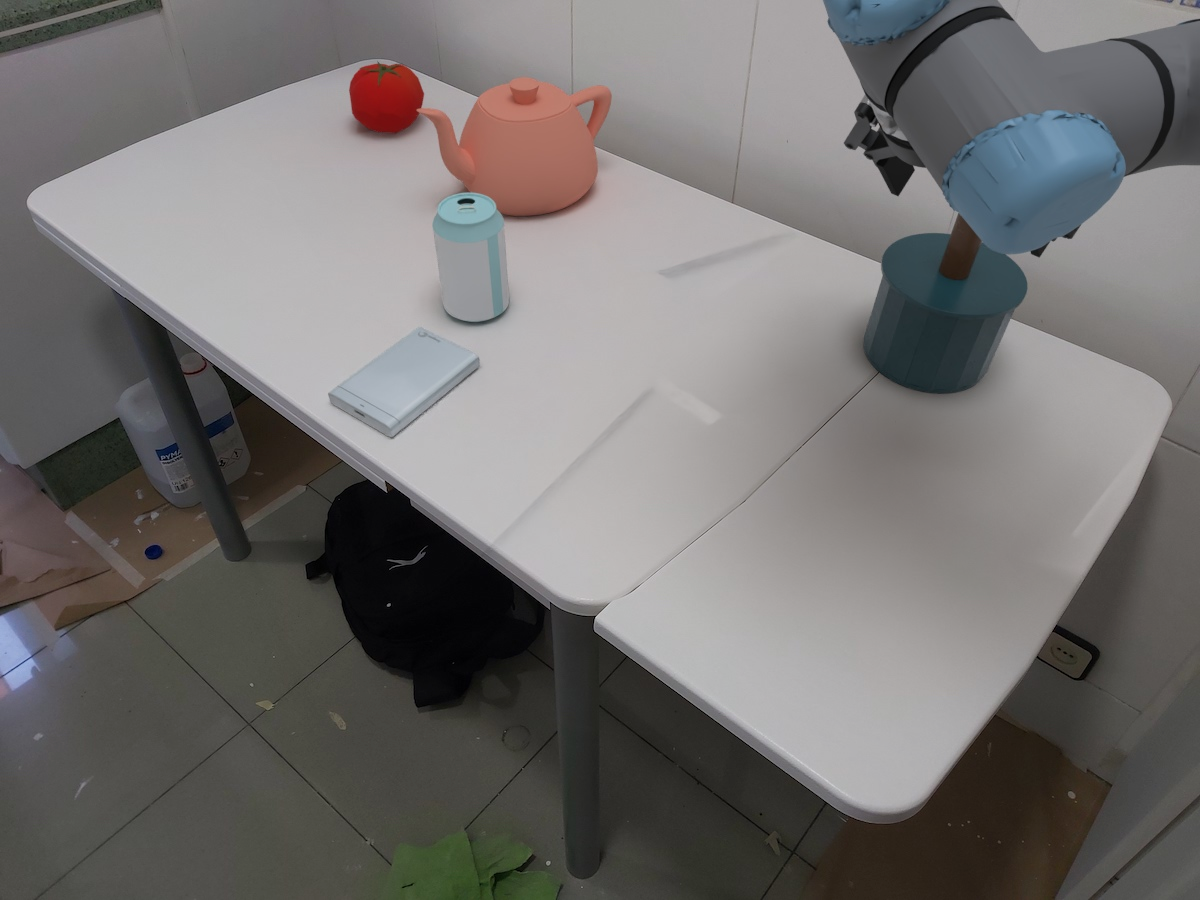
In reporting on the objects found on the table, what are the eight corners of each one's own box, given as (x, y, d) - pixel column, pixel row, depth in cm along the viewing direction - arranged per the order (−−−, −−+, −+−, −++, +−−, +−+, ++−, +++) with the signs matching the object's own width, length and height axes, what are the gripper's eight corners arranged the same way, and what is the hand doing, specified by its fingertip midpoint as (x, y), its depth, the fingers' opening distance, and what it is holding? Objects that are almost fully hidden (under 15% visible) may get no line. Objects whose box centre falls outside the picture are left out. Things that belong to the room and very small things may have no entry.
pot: (1008, 353, 91) (1043, 276, 84) (948, 411, 85) (980, 334, 78) (903, 301, 97) (928, 225, 90) (839, 352, 91) (861, 274, 84)
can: (430, 306, 95) (415, 206, 86) (480, 278, 98) (470, 180, 90) (473, 335, 91) (462, 235, 83) (523, 306, 95) (517, 207, 86)
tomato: (340, 128, 122) (328, 67, 116) (397, 103, 128) (388, 44, 122) (385, 150, 118) (374, 88, 112) (441, 123, 124) (434, 63, 118)
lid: (1048, 282, 85) (1087, 197, 78) (980, 344, 78) (1017, 256, 71) (924, 227, 91) (951, 144, 84) (852, 280, 84) (875, 194, 78)
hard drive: (418, 324, 90) (326, 390, 83) (479, 355, 87) (389, 426, 80) (420, 337, 91) (330, 403, 84) (480, 368, 88) (392, 439, 81)
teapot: (456, 246, 103) (443, 137, 93) (405, 180, 113) (389, 76, 103) (640, 195, 111) (646, 90, 102) (577, 138, 121) (578, 38, 112)
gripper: (753, 84, 65) (828, 194, 84) (1079, 215, 53) (1083, 310, 72) (808, -9, 64) (872, 123, 83) (1154, 102, 52) (1139, 228, 71)
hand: (970, 210), depth 77 cm, fingers open, 13 cm apart
